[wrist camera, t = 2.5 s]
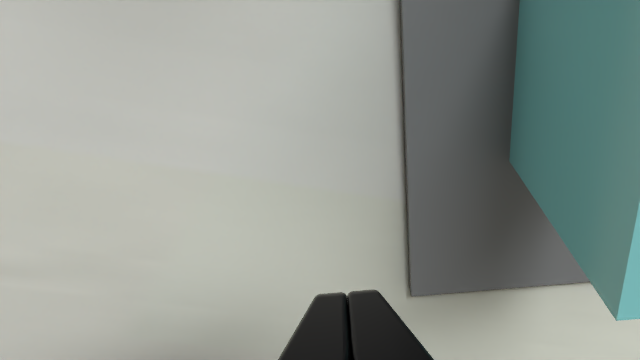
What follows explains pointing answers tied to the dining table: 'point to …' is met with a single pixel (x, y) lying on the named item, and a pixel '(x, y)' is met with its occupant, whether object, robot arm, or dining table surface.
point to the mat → (469, 155)
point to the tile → (584, 134)
